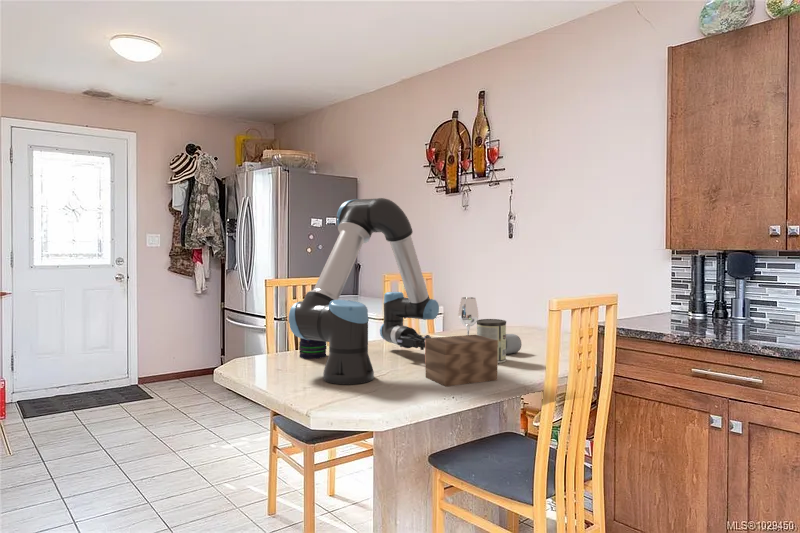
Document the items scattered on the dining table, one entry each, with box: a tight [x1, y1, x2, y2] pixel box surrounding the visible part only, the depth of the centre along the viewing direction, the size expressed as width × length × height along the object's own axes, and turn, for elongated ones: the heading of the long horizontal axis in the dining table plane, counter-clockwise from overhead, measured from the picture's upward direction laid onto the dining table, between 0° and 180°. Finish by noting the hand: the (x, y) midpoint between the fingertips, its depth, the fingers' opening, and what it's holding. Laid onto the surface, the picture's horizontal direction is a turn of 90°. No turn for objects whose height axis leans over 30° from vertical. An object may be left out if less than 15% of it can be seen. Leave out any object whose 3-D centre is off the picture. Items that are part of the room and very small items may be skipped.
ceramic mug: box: [506, 333, 522, 355], centre depth 210 cm, size 11×8×8 cm
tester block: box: [425, 334, 498, 387], centre depth 168 cm, size 18×12×12 cm, turn 115°
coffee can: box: [476, 318, 507, 364], centre depth 195 cm, size 10×10×14 cm
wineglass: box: [457, 296, 479, 335], centre depth 218 cm, size 8×8×20 cm
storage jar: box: [298, 338, 327, 360], centre depth 201 cm, size 10×10×15 cm
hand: (435, 347), depth 182 cm, fingers closed
